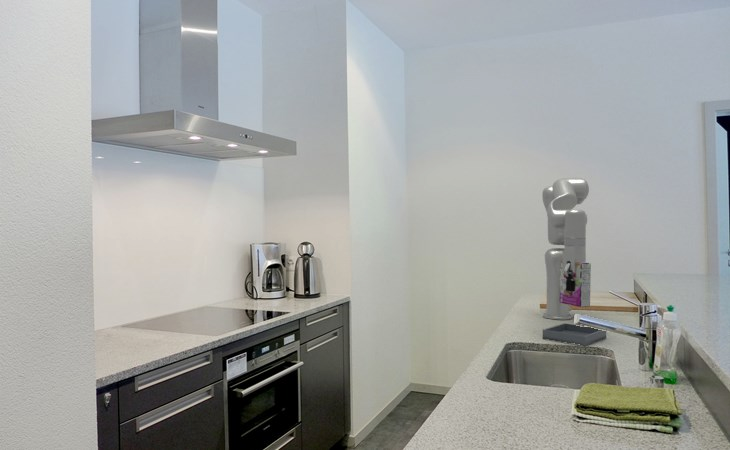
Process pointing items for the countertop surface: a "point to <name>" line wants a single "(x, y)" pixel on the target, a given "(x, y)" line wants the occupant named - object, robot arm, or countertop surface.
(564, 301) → the candy bar box
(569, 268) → the robot arm
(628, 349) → the countertop surface
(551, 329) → the tray
